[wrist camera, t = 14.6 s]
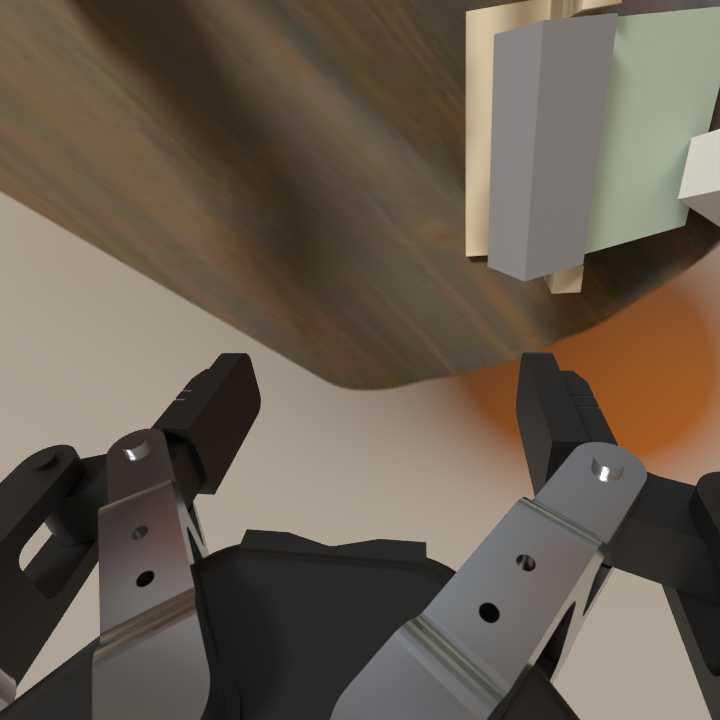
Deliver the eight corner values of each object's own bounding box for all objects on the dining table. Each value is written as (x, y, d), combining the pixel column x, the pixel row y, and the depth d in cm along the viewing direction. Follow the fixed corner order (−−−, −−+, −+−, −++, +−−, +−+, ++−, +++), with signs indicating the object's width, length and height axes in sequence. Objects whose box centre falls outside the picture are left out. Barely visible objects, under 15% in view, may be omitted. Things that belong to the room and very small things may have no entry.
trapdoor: (487, 270, 33) (524, 285, 29) (494, 28, 25) (543, 12, 22) (654, 223, 37) (703, 232, 34) (701, 7, 30) (768, -8, 27)
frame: (465, 253, 43) (469, 296, 34) (465, 13, 34) (471, -16, 25) (551, 247, 42) (580, 292, 33) (577, -7, 32) (628, -46, 23)
